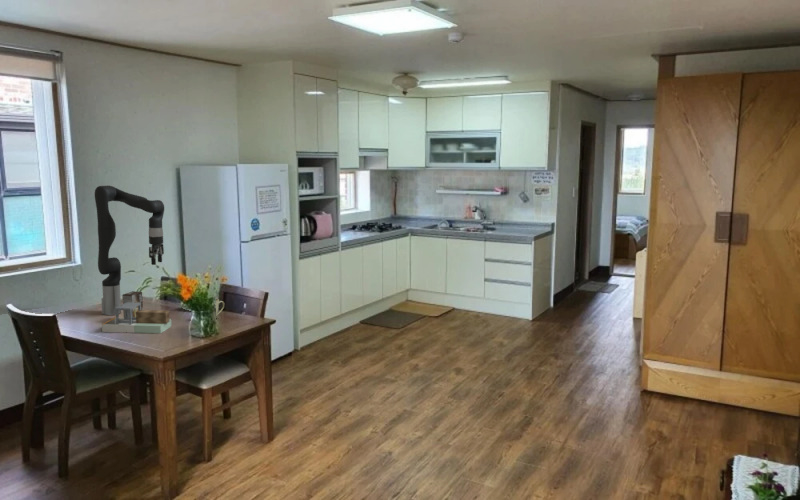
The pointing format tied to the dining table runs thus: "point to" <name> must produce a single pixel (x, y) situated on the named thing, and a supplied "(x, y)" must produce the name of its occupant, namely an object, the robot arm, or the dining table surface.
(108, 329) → the tunnel deck
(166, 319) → the walnut bar
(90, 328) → the dining table surface
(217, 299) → the mug
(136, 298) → the coffee box
